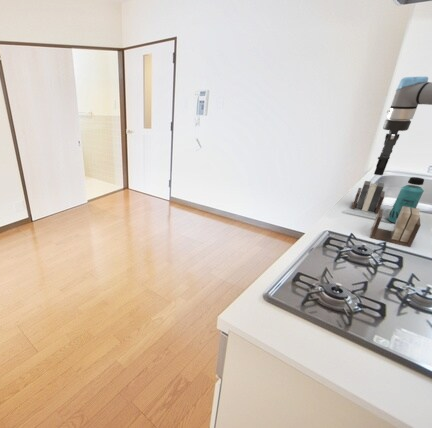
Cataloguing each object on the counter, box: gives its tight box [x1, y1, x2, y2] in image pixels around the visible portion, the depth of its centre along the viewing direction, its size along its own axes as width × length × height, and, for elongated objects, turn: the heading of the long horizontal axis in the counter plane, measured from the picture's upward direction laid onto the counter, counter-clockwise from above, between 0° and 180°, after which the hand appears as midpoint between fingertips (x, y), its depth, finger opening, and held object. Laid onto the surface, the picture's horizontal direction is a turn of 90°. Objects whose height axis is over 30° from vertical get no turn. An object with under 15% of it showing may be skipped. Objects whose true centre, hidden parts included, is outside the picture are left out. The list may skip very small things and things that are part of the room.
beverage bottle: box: [388, 176, 425, 224], centre depth 111 cm, size 6×7×20 cm
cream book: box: [361, 182, 378, 212], centre depth 125 cm, size 2×8×11 cm, turn 137°
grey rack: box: [351, 180, 386, 215], centre depth 125 cm, size 9×9×13 cm
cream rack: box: [369, 206, 422, 248], centre depth 104 cm, size 11×9×12 cm
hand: (379, 170), depth 120 cm, fingers open, 13 cm apart
